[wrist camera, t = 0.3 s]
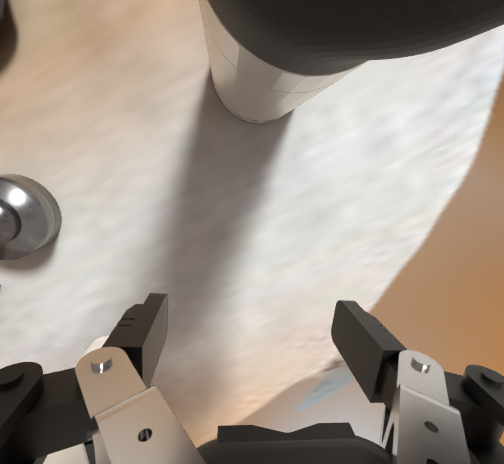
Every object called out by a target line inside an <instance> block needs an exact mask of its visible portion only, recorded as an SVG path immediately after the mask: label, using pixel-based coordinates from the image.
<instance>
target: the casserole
mask: <svg viewBox="0 0 504 464" xmlns="http://www.w3.org/2000/svg"><path fill="white" fill-rule="evenodd" d="M5 4H6V0H0V26H1V24H2V22H3V20H4V16H5Z"/></svg>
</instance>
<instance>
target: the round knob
mask: <svg viewBox="0 0 504 464" xmlns="http://www.w3.org/2000/svg"><path fill="white" fill-rule="evenodd" d="M60 227H61V212H60V209H59V206H58V204H57V202H56V200H55V199H54V197H53V196H52V195H51V193H50V192H49V191H48V190H47V189H46V188H44V187H43V186H42V185H41V184H39V183H38V182H36V181H34V180H32V179H30V178H27V177H24V176H20V175H12V174H7V175H0V259H1V260H10V259H16V258H20V257H23V256H25V255H27V254H29V253H31V252H33V251H35V250H37V249H39V248H41V247H43V246H45V245H47V244H48V243H50V242H51V241H52V240H53V239H54V238H55V237H56V236H57V234H58V232H59V230H60Z"/></svg>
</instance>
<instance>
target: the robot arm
mask: <svg viewBox="0 0 504 464" xmlns="http://www.w3.org/2000/svg"><path fill="white" fill-rule="evenodd" d="M199 4H200V10H201V15H202V21H203V27H204V32H205V38H206V44H207V50H208V55H209V61H210V68H211V73H212V79H213V83H214V86H215V90H216V92H217V94H218V96H219V98H220V100H221V102H222V103H223V104H224V106H225V107H226V108H227V109H228V110H229V111H230V112H231V113H232V114H234V115H235V116H237V117H238V118H240V119H242V120H244V121H248V122H251V123H266V122H271V121H274V120H276V119H278V118H280V117H282V116H283V115H285V114H287V113H288V112H290V111H292V110H293V109H295V108H296V107H298V106H299V105H301V104H302V103H304V102H305V101H307V100H309V99H310V98H312V97H313V96H315V95H316V94H318V93H319V92H321V91H323V90H324V89H326V88H327V87H329V86H330V85H332V84H333V83H335V82H336V81H338V80H340V79H341V78H343V77H344V76H345V75H347V74H348V73H350V72H352V71H353V70H355V69H356V68H358V67H359V66H361V65H362V64H364V63H365V62H367V61H369V60H381V59H393V58H402V57H408V56H414V55H418V54H423V53H427V52H431V51H434V50H438V49H441V48H444V47H447V46H450V45H453V44H455V43H458V42H461V41H463V40H466V39H469V38H471V37H474V36H476V35H479V34H481V33H484V32H486V31H489V30H491V29H493V28H496V27H498V26H501V25H503V24H504V0H199ZM167 328H168V294H159V293H150V294H149V296H148V297H147V299H146V301H145V302H144V304H135V305H134V306H132V307H131V308H129V309H128V310H126V312H125V313H124V315H123V316H122V318H121V320H120V321H119V322H118V324H117V326H116V327H115V328H114V330H113V331H112V333H111V334H110V336H109V337H108V339H107V340H106V341H105V343H104V344H103V346H102V347H101V348H99V349H96V350H94V351H91V352H89V353H88V354H86V355H85V356H83V357H82V358H81V359H80V360H79V361H78V363H77V364H76V367H74V368H71V369H67V370H63V371H58V372H53V373H49V374H44V375H43V370H42V367H41V365H39V364H37V363H34V362H22V363H17V364H13V365H10V366H7V367H4V368H2V369H0V464H43V463H44V461H45V459H46V457H47V456H48V455H49V454H52V453H55V452H58V451H61V450H64V449H67V448H70V447H73V446H76V445H79V444H82V448H83V451H84V455H85V459H86V462H87V464H504V446H503V445H502V444H501V443H500V442H499V441H500V438H501V436H502V434H503V431H504V376H502V375H501V374H499V373H497V372H495V371H493V370H491V369H488V368H485V367H482V366H478V365H468V366H467V367H466V369H465V372H464V375H463V376H462V375H457V374H453V373H449V372H444V371H443V369H442V368H441V366H440V365H439V364H438V363H437V362H436V361H434V360H433V359H431V358H430V357H428V356H426V355H424V354H422V353H419V352H416V351H411V350H407V349H406V348H405V347H404V346H403V345H402V344H401V343H400V342H399V341H398V340H397V339H396V338H395V337H394V336H393V335H392V334H391V333H389V331H388V330H387V329H386V328H385V327H384V326H383V325H382V324H381V323H380V322H379V321H378V320H377V319H376V318H375V317H374V316H372V315H370V314H369V313H367V312H365V311H364V310H363V309H362V308H361V307H360V306H359V305H358V304H357V303H356V302H355V301H343V300H339V301H338V302H337V303H336V307H335V313H334V318H333V323H332V328H331V335H332V340H333V342H334V344H335V346H336V347H337V349H338V351H339V352H340V354H341V355H342V357H343V359H344V360H345V362H346V364H347V365H348V367H349V369H350V370H351V372H352V373H353V375H354V377H355V378H356V380H357V382H358V383H359V385H360V387H361V388H362V390H363V391H364V393H365V395H366V396H367V398H368V400H369V401H370V403H375V402H376V403H382V402H383V403H384V404H385V408H384V412H383V419H382V427H381V436H380V444H379V445H377V444H375V443H374V442H372V441H369V440H367V439H364V438H362V437H359V436H355V434H354V432H353V430H352V428H351V426H350V424H349V423H318V424H315V425H312V426H309V427H306V428H303V429H300V430H297V431H294V432H290V433H284V432H280V431H275V430H271V429H266V428H262V427H258V426H254V425H233V426H218V434H217V439H215V440H212V441H209V442H207V443H205V444H203V445H201V446H200V447H198V448H196V447H195V446H194V444H193V443H192V441H191V439H190V438H189V436H188V435H187V433H186V432H185V430H184V429H183V427H182V425H181V424H180V422H179V421H178V419H177V418H176V416H175V415H174V413H173V411H172V410H171V408H170V407H169V405H168V404H167V402H166V400H165V399H164V397H163V396H162V394H161V393H160V391H159V390H158V388H157V387H156V386H154V385H152V386H150V383H151V380H152V377H153V374H154V371H155V368H156V366H157V363H158V360H159V357H160V354H161V351H162V348H163V345H164V342H165V339H166V335H167ZM149 386H150V387H149Z"/></svg>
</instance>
